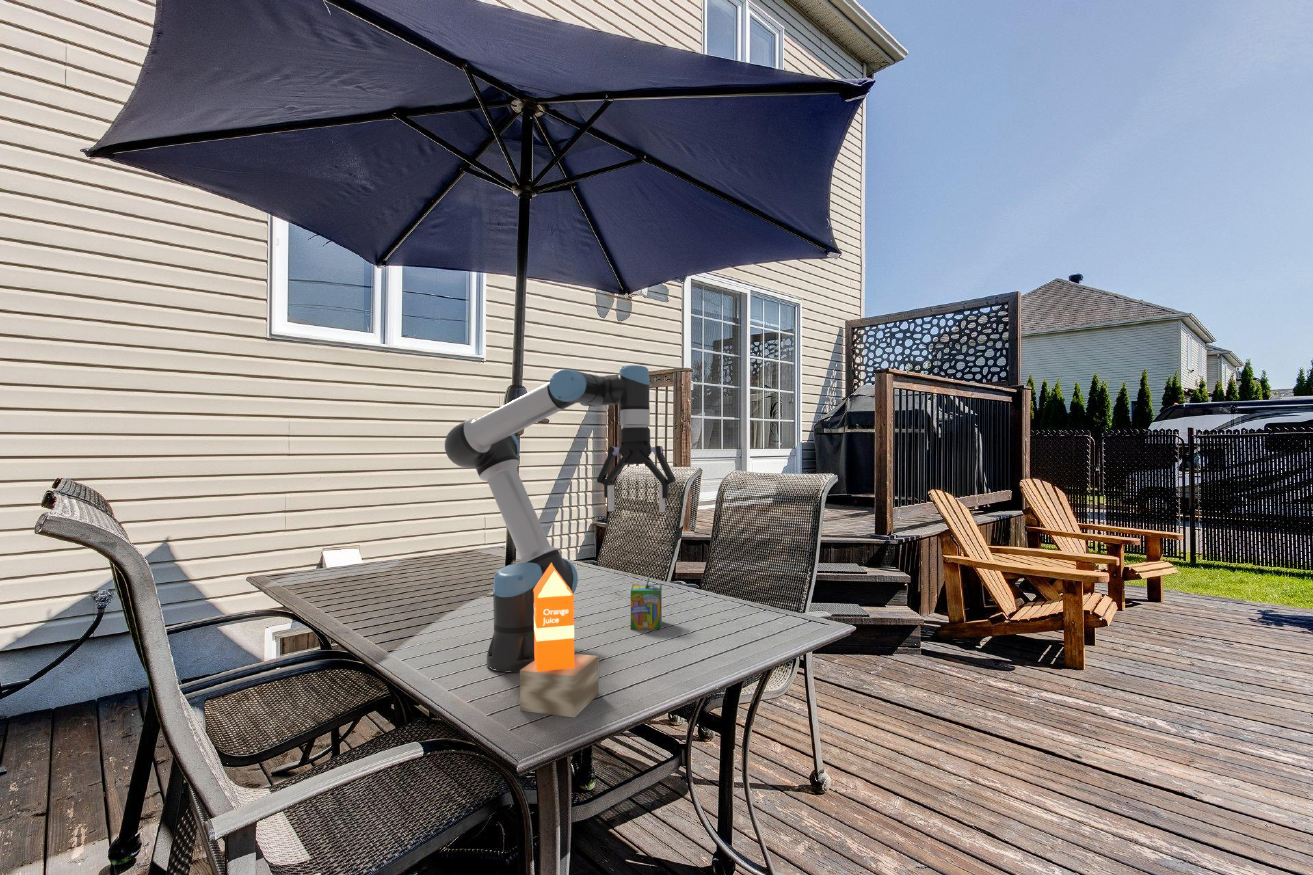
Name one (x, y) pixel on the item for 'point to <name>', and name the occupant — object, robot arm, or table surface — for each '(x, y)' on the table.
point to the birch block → (560, 687)
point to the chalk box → (646, 606)
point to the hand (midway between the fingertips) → (636, 511)
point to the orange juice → (553, 622)
